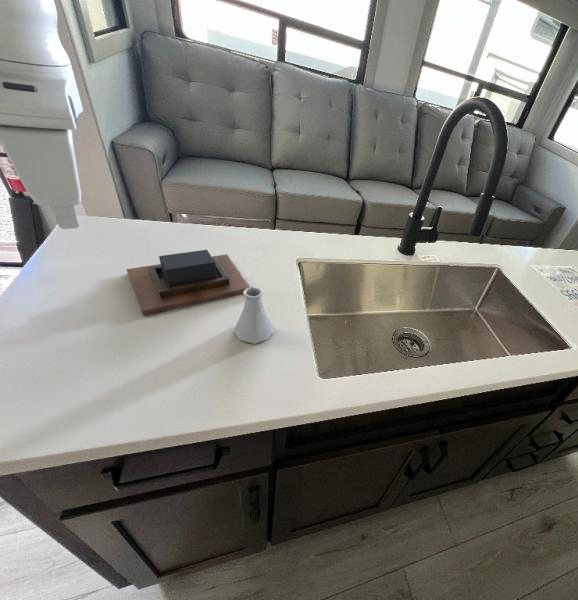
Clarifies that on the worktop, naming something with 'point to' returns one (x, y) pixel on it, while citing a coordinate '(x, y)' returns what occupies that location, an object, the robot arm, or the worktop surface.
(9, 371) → the worktop surface
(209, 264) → the dark gray block
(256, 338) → the flask
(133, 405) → the worktop surface
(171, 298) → the back plate
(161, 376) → the worktop surface
